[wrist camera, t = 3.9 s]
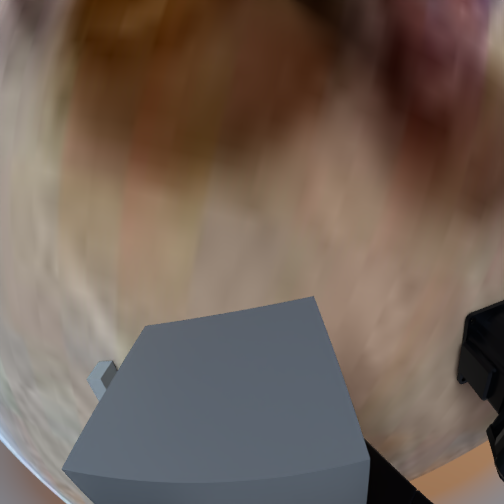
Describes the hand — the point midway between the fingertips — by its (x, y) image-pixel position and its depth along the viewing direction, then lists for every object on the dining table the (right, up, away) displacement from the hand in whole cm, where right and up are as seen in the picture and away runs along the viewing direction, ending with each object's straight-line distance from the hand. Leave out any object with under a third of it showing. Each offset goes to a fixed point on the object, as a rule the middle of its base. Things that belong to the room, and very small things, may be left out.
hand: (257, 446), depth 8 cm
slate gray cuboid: (0, 0, +1) cm, 1 cm away
